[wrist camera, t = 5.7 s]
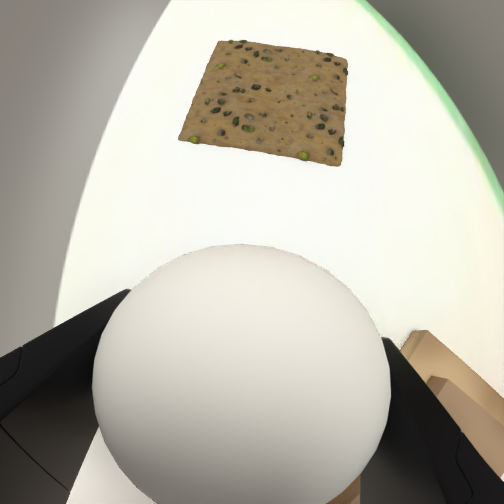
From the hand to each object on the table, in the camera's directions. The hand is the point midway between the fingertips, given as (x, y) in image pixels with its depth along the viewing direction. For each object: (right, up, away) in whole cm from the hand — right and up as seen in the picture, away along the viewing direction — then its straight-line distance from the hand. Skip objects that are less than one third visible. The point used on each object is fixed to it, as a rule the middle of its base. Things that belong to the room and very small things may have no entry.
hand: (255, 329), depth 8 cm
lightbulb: (0, -3, +6) cm, 7 cm away
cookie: (+1, +14, +16) cm, 21 cm away
